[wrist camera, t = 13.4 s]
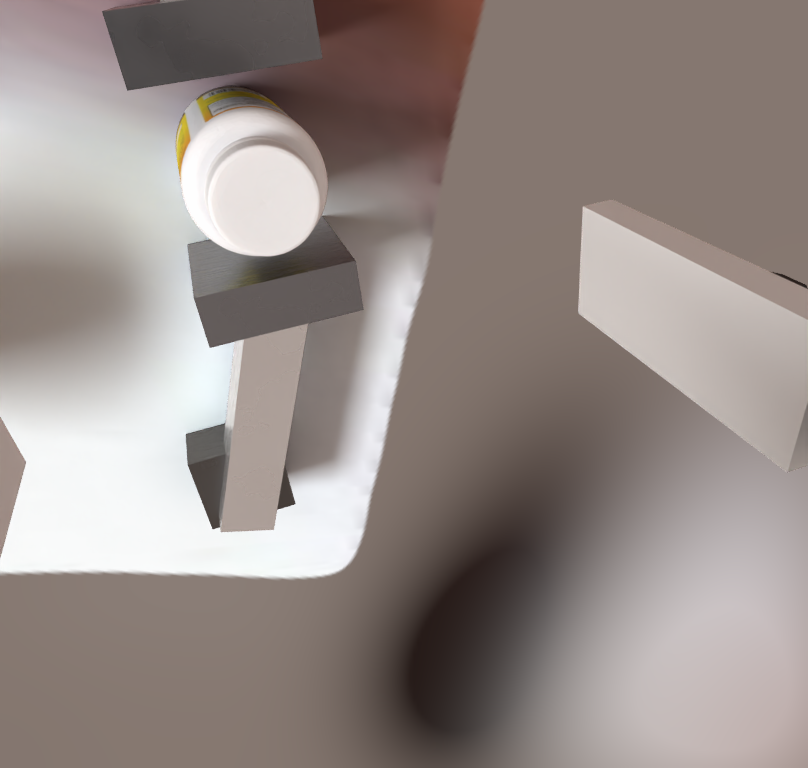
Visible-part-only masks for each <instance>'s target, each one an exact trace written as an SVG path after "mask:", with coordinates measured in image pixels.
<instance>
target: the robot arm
mask: <svg viewBox="0 0 808 768" xmlns="http://www.w3.org/2000/svg"><path fill="white" fill-rule="evenodd" d="M581 240H582V241H581V262H580V263H581V264H580V286H579V309H578V313H579V314H580V315H582V316H583V317H584V318H585V319H587V320H588V321H589V322H591V323H592V324H593V325H595V326H596V327H597V328H599V329H600V330H601V331H603V332H604V333H605V334H606V335H608V336H609V337H610V338H612V339H613V340H614V341H616V342H617V343H618V344H620V345H621V346H622V347H623V348H625V349H626V350H627V351H629V352H630V353H631V354H633V355H634V356H635V357H637V358H638V359H639V360H640V361H642V362H643V363H644V364H646V365H647V366H648V367H650V368H651V369H652V370H654V371H655V372H656V373H657V374H659V375H660V376H662V377H663V378H664V379H665V380H667V381H668V382H670V383H671V384H672V385H673V386H675V387H676V388H677V389H679V390H680V391H681V392H682V393H684V394H685V395H686V396H688V397H689V398H690V399H692V400H693V401H694V402H696V403H697V404H698V405H699V406H701V407H702V408H703V409H705V410H706V411H707V412H709V413H710V414H711V415H713V416H714V417H715V418H716V419H718V420H719V421H720V422H722V423H723V424H724V425H726V426H727V427H728V428H730V429H731V430H732V431H734V432H735V433H736V434H737V435H739V436H740V437H741V438H743V439H744V440H745V441H747V442H748V443H749V444H751V445H752V446H753V447H755V448H756V449H757V450H759V451H760V452H761V453H763V454H764V455H765V456H766V457H768V458H769V459H770V460H772V461H773V462H774V463H775V464H777V465H778V466H779V467H781V468H782V469H783V470H785V471H786V472H790V471H793V470H796V469H799V468H801V467H804V466H807V465H808V288H807V286H806V285H805V284H803V283H801V282H798V281H796V280H793V279H791V278H789V277H787V276H785V275H783V274H778V273H774V272H770V271H767V270H764V269H763V268H761V267H758V266H756V265H754V264H752V263H750V262H747V261H745V260H743V259H741V258H739V257H736V256H734V255H732V254H730V253H728V252H726V251H724V250H721V249H719V248H717V247H715V246H712V245H710V244H708V243H706V242H704V241H702V240H699V239H697V238H695V237H693V236H691V235H689V234H686V233H684V232H682V231H680V230H678V229H676V228H673V227H671V226H669V225H667V224H665V223H662V222H660V221H658V220H656V219H654V218H652V217H649V216H647V215H645V214H643V213H641V212H639V211H636V210H634V209H632V208H630V207H627V206H625V205H623V204H621V203H619V202H617V201H615V200H608V201H604V202H599V203H595V204H591V205H586V206H583V216H582V239H581ZM25 464H26V461H25V460H24V458H23V456H22V454H21V453H20V451H19V449H18V447H17V446H16V444H15V442H14V440H13V439H12V437H11V435H10V433H9V432H8V430H7V428H6V426H5V425H4V423H3V421H2V419H1V417H0V557H1V553H2V550H3V546H4V542H5V539H6V535H7V531H8V527H9V524H10V520H11V516H12V513H13V509H14V505H15V501H16V498H17V494H18V490H19V487H20V483H21V479H22V475H23V472H24V468H25Z"/></svg>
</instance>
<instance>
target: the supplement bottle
mask: <svg viewBox="0 0 808 768" xmlns="http://www.w3.org/2000/svg"><path fill="white" fill-rule="evenodd" d="M176 155H177V162H178V169H179V175H180V182H181V189H182V195H183V198H184V202H185V204H186V207H187V209H188V212H189V214H190V216H191V217H192V219H193V220H194V222H195V224H196V225H197V226H198V227H199V229H200V230H201V231H202V232H203V233H204V234H205V235H206V236H207V237H208V238H210V239H211V240H212V241H213V242H215V243H216V244H218V245H219V246H221V247H223V248H225V249H227V250H229V251H232V252H235V253H238V254H243V255H249V256H276V255H280V254H284V253H286V252H289V251H291V250H293V249H294V248H296V247H297V246H299V245H300V244H301V243H303V242H304V241H305V240H306V239H307V237H308V236H309V235H310V233H311V232H312V231H313V229H314V227H315V226H316V224H317V223H318V221H319V219H320V217H321V215H322V213H323V210H324V207H325V203H326V199H327V191H328V179H327V172H326V167H325V164H324V160H323V158H322V155H321V153H320V151H319V149H318V147H317V146H316V144H315V143H314V141H313V140H312V138H311V137H310V136H309V134H308V133H307V132H306V131H305V130H304V129H303V128H302V127H301V126H300V125H299V124H298V123H296V122H295V121H294V120H293V119H292V118H291V117H290V116H288V115H287V114H286V113H285V112H284V111H283V110H282V109H281V108H279V107H278V106H277V105H276V104H275V103H274V102H273V101H271V100H270V99H269V98H267V97H266V96H264V95H262V94H260V93H259V92H257V91H254V90H251V89H248V88H244V87H238V86H225V87H219V88H215V89H212V90H209V91H207V92H205V93H204V94H202V95H200V96H199V97H198V98H196V99H195V100H194V101H193V102H192V103H191V104H190V105H189V106H188V107H187V109H186V110H185V112H184V114H183V115H182V117H181V120H180V122H179V125H178V129H177V134H176Z"/></svg>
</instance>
